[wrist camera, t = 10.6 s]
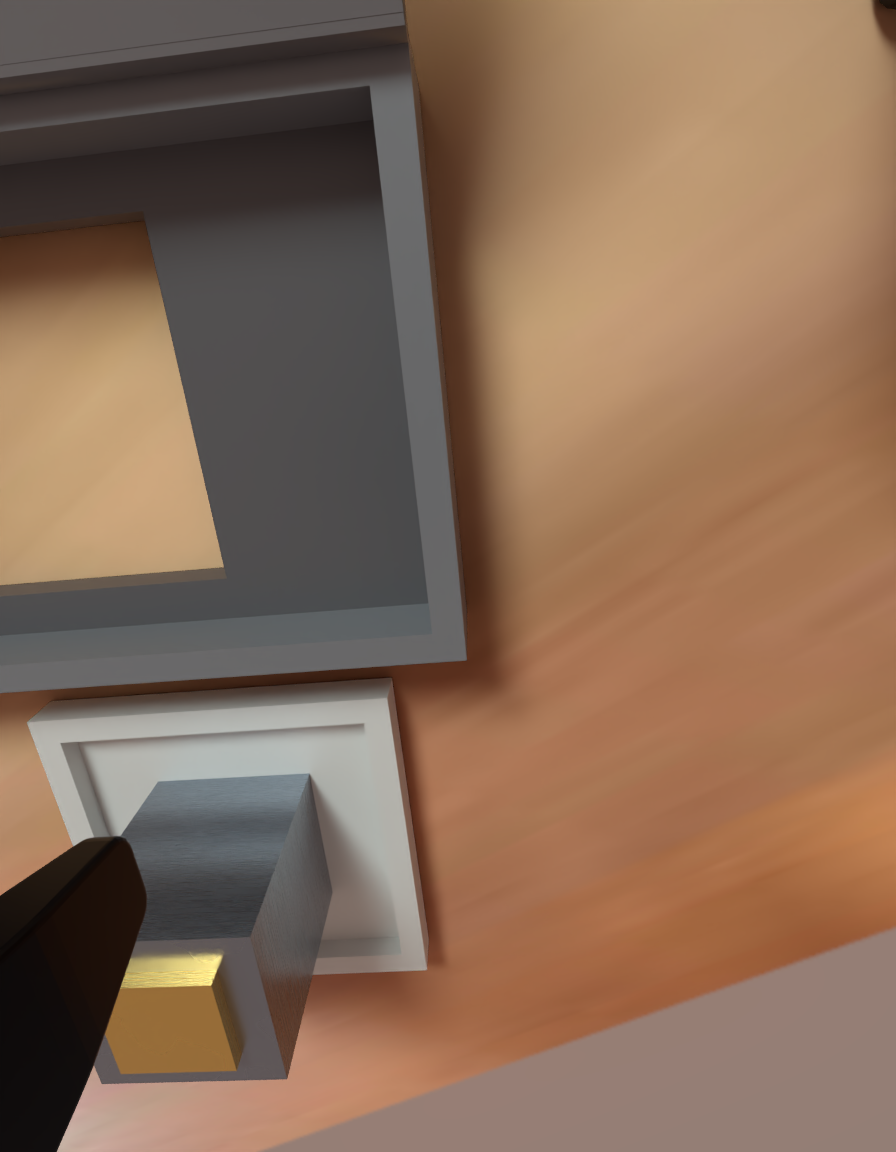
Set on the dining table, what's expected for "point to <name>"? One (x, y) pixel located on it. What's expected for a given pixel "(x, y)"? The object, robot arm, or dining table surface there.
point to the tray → (261, 748)
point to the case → (253, 327)
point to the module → (220, 931)
